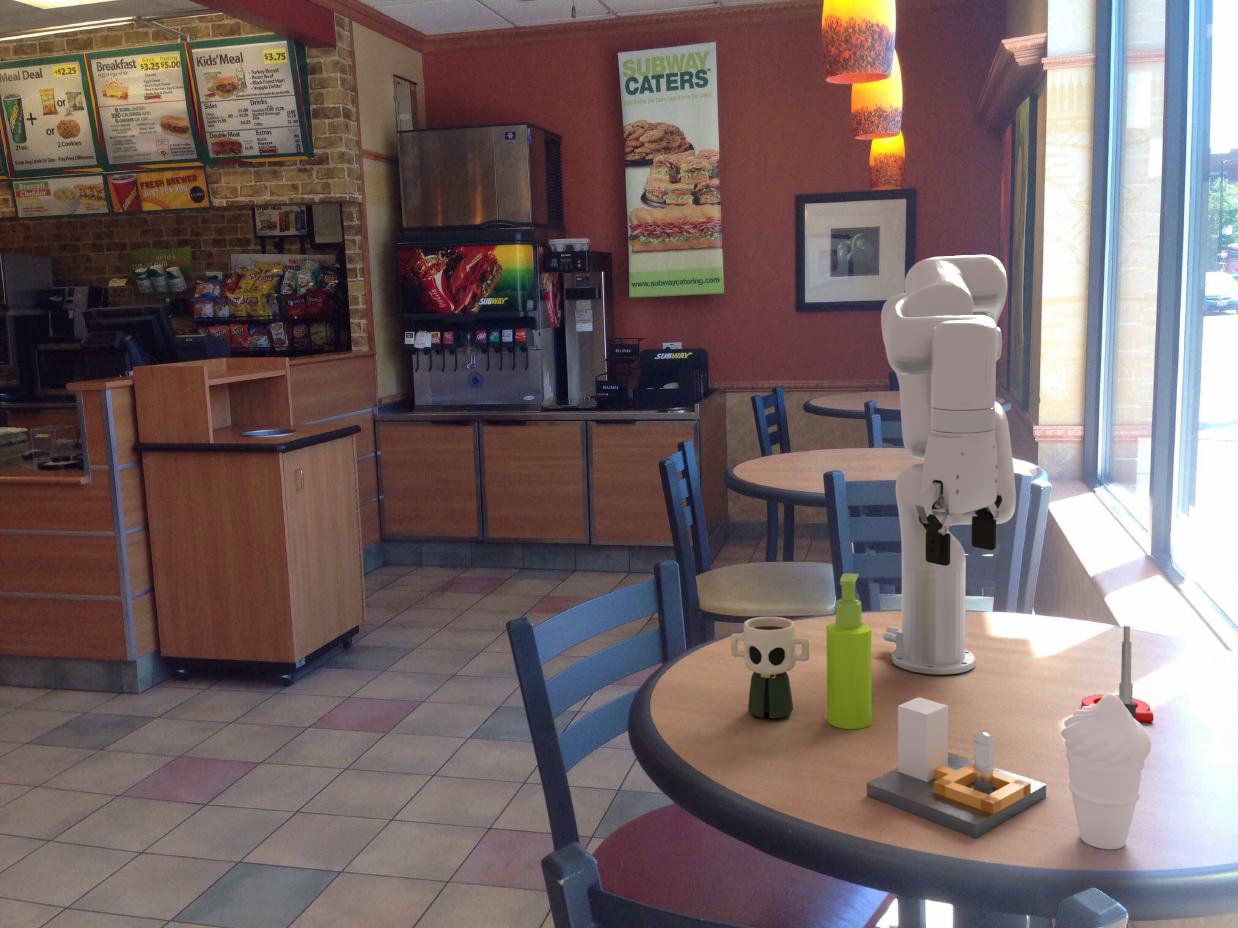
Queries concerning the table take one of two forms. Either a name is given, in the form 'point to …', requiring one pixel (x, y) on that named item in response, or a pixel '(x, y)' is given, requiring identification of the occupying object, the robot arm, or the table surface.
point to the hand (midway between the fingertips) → (961, 555)
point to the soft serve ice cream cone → (1105, 769)
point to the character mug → (770, 663)
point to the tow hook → (1126, 686)
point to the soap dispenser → (849, 662)
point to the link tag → (946, 759)
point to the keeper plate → (947, 811)
